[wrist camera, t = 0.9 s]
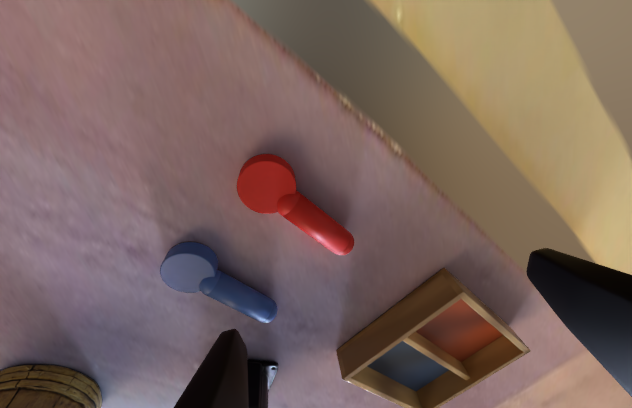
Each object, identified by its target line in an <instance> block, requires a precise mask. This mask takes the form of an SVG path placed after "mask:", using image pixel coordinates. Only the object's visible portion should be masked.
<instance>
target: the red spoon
mask: <svg viewBox="0 0 632 408" xmlns="http://www.w3.org/2000/svg"><path fill="white" fill-rule="evenodd" d="M237 191H238V195H239V197H240V199H241V201H242V202H243V203H244V204H245V205H246V206H247V207H248V208H250V209H251V210H253V211H255V212H258V213H264V214H271V213H276V212H279V214H281V215H282V216H283V217H285V218H286V219H287V220H289V221H290V222H292V223H293V224H294V225H296V226H297V227H298V228H300V229H301V230H303V231H304V232H305V233H307V234H308V235H310V236H311V237H312V238H314V239H315V240H316V241H318V242H319V243H321V244H322V245H323V246H325V247H326V248H328V249H329V250H330V251H332V252H333V253H335V254H337V255H346V254H348V253H349V252H350V251H351V250H352V249H353V246H354V238H353V236H352V234H351V233H350V232H349V231H347V230H346V229H345V228H344V227H342V226H341V225H340V224H339V223H337V222H336V221H335V220H334V219H332V218H331V217H330V216H329V215H327V214H326V213H325V212H324V211H322V210H321V209H320V208H318V207H317V206H316V205H315V204H313V203H312V202H311V201H310V200H308V199H307V198H306V197H305V196H303V195H302V194H301V193H300V192H298V191H297V190H296V180H295V175H294V172H293V169H292V168H291V166H290V165H289V164H288V163H287V162H286V161H285V160H284V159H282V158H281V157H278V156H276V155H272V154H261V155H257V156H254V157H252V158H251V159H249V160H248V161H247V162H246V163H245V164H244V165H243V167H242V169H241V171H240V174H239V177H238V181H237Z"/></svg>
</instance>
